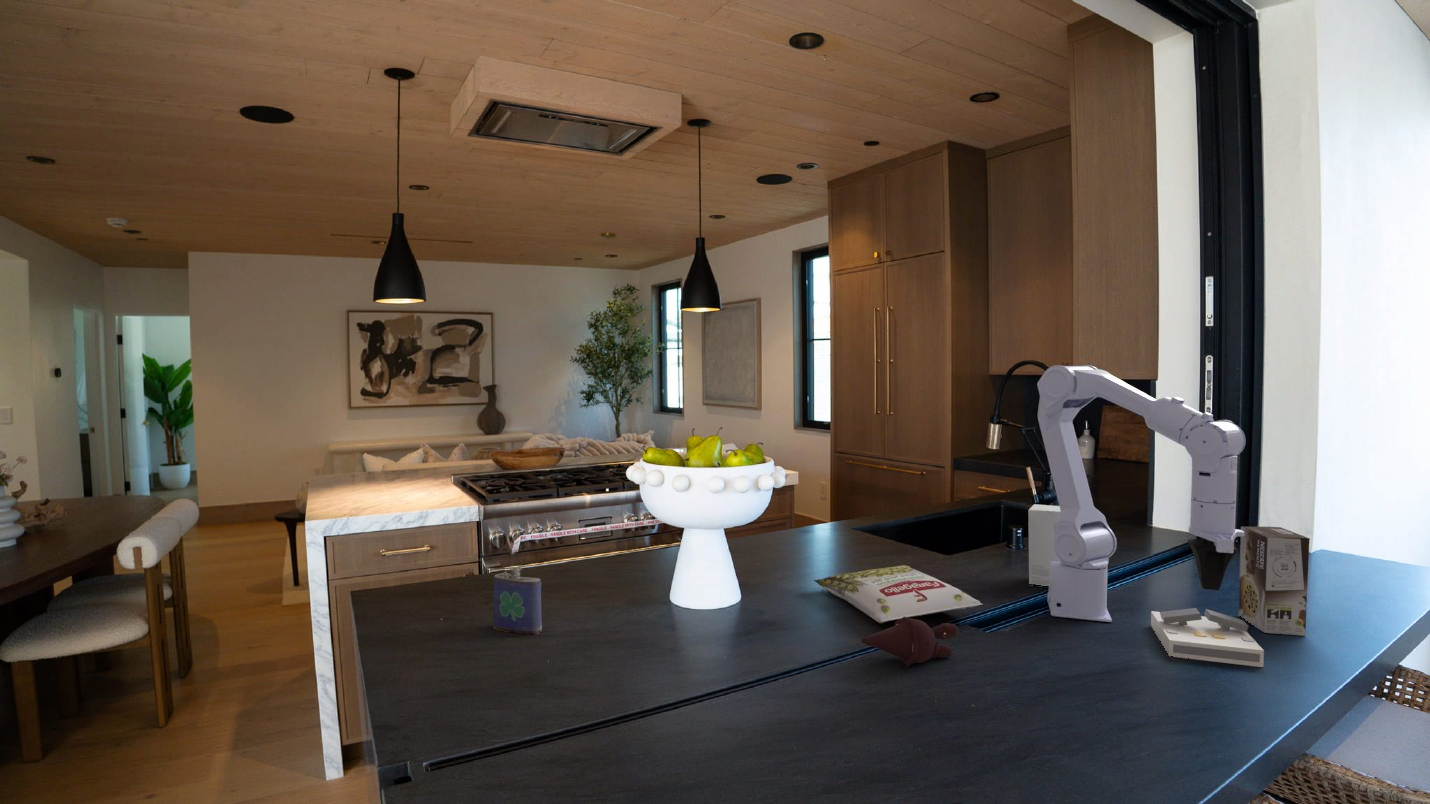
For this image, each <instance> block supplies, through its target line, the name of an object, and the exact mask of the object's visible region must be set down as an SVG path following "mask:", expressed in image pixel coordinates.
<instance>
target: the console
mask: <svg viewBox="0 0 1430 804" xmlns="http://www.w3.org/2000/svg"><path fill="white" fill-rule="evenodd" d="M1150 612H1151V613H1150V618H1151V619H1150V627H1151V628H1152V630H1153V632H1154V631H1155V632H1154V634H1155V635H1156V636H1157V638H1158V640H1159V642H1160V641H1161V642H1160V643H1161V645H1162V646H1164V647H1163V649H1164V648H1165V649H1164V650H1165V652H1166V651H1167V652H1166V654H1167V653H1168V654H1167V655H1168V657H1171V656H1173V657H1172V658H1180V659H1181V658H1182V659H1188V658H1189V660H1196V661H1198V660H1199V661H1207V662H1214V663H1215V662H1216V663H1224V664H1233V665H1241V666H1242V665H1243V666H1249V667H1258V668H1264V660H1265V659H1264V658H1265V656H1264V655H1265V650H1264V649H1263V648H1262V647H1261V645H1260V644H1259V643H1257V641H1256V640H1255V639H1254V638H1253V637H1252V636H1251V635H1250V634H1249V632H1248V631H1247V632H1244V631H1241V630H1238V629H1235V628H1232V627H1230V630H1229V631H1228V630H1225V629H1222V628H1221V627H1220V626H1219V625H1218V623H1216V622H1212V621H1209V620H1208V619H1207V618H1206V616H1205V615H1204V616H1203V615H1201V618H1202V620H1194V621H1187V625H1183V626H1180V625H1179V623H1178V622H1176V623H1167V624H1165V623H1164V622H1163V620H1162V619H1161V615H1160V612H1161V611H1154V610H1151V611H1150Z"/></svg>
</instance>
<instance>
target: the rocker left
mask: <svg viewBox="0 0 1430 804" xmlns="http://www.w3.org/2000/svg"><path fill="white" fill-rule="evenodd" d="M1159 612H1160V615H1161V619H1162V620H1163V622H1164V623H1165V624H1167V623H1176V622H1178V623H1179V625H1180V626H1183V625H1187V621H1194V620H1202V618H1201V616H1202V614H1201V612H1200V611H1199V610H1198V609H1197V607H1194V608H1185V609H1184V608H1183V609H1175V610H1174V609H1173V610H1168V611H1166V610H1165V611H1159Z"/></svg>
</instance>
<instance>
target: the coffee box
mask: <svg viewBox="0 0 1430 804" xmlns="http://www.w3.org/2000/svg"><path fill="white" fill-rule="evenodd" d="M1240 530H1242V531H1244V536H1243V537H1241V536H1240V546H1239V547H1240V548H1239V549H1240V554H1239V591H1238V593H1239V594H1238V596H1239V599H1238V617H1240V616H1241V617H1242V618H1241V617H1240V618H1241V619H1243V618H1244V619H1245V620H1244V619H1243V620H1244V621H1245V622H1247V621H1248V622H1247V623H1249V624H1250V623H1251V624H1250V625H1252V626H1253V625H1254V626H1253V627H1255V628H1256V629H1258V630H1259V631H1261V632H1263V633H1264V634H1275V635H1276V634H1278V635H1280V634H1281V635H1289V636H1290V635H1291V636H1301V637H1303V636H1305V635H1306V632H1307V631H1306V629H1307V628H1306V627H1307V611H1308V610H1307V609H1308V608H1307V606H1308V605H1307V604H1308V581H1309V580H1308V579H1309V561H1310V560H1309V559H1310V541H1311V538H1309V537H1307V536H1305V535H1302V534H1300V533H1296V532H1293V531H1291V530H1288V529H1286V528H1283V527H1279V526H1245V525H1244V526H1240Z"/></svg>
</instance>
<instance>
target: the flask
mask: <svg viewBox="0 0 1430 804" xmlns="http://www.w3.org/2000/svg"><path fill="white" fill-rule="evenodd" d="M509 570H510V571H511V572H510V573H508V572H507V571H504V572H501V573H496V574H494V575H493V581H492V582H493V585H492V586H493V592H492V594H493V609H492V610H493V615H492V617H493V629H494V630H496V631H501V632H505V633H513V634H524V635H539V634H540V633H541V632H542V631H543V622H542V621H543V620H542V580H541V578H540V577H528V576H527V577H525V576H521V571H522V567H521V566H516V567H515V566H514V567H513V566H512V567H510V568H509Z"/></svg>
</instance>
